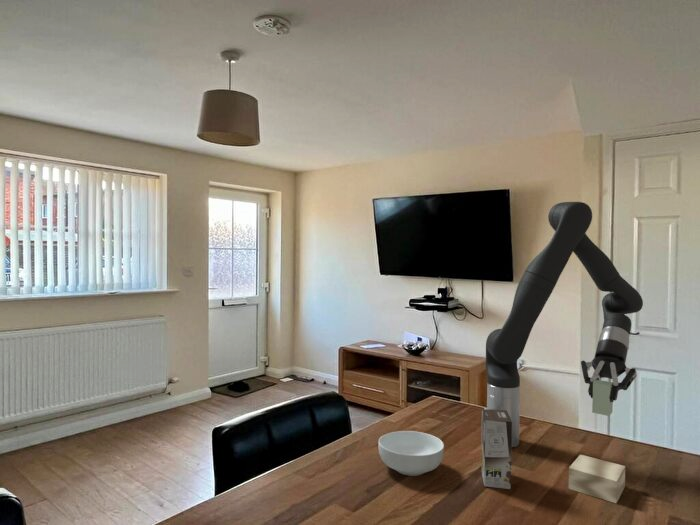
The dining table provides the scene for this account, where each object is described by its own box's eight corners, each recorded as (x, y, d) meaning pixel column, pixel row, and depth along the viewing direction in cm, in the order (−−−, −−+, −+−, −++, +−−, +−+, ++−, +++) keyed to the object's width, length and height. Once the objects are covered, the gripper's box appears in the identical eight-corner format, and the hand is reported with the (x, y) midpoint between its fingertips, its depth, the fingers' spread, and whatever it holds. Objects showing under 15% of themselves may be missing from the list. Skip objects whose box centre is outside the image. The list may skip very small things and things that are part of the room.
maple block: (568, 488, 110) (568, 467, 110) (579, 473, 118) (580, 454, 118) (616, 503, 104) (616, 481, 104) (624, 486, 111) (625, 466, 111)
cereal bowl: (456, 468, 120) (456, 441, 120) (419, 492, 108) (419, 461, 108) (403, 449, 132) (403, 425, 132) (364, 468, 120) (365, 441, 120)
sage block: (592, 412, 123) (593, 382, 123) (595, 408, 126) (596, 379, 126) (609, 416, 121) (609, 385, 120) (612, 412, 124) (613, 382, 123)
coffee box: (511, 489, 109) (512, 421, 109) (483, 487, 111) (484, 419, 110) (506, 472, 118) (507, 409, 118) (480, 469, 120) (481, 407, 119)
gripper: (583, 334, 134) (570, 385, 125) (640, 341, 125) (631, 396, 115) (587, 350, 138) (574, 400, 129) (643, 358, 129) (634, 412, 120)
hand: (601, 398), depth 122 cm, fingers closed on sage block, 4 cm apart
